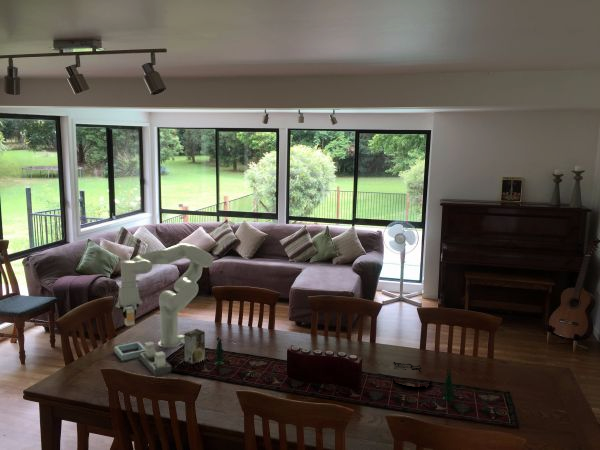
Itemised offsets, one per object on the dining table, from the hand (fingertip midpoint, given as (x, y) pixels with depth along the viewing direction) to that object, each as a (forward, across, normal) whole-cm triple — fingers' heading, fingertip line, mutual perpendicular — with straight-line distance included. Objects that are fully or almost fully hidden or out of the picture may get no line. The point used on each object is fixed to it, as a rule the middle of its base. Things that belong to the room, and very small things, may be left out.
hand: (129, 316), depth 268 cm
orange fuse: (+4, 0, 0) cm, 4 cm away
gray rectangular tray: (+22, -6, +20) cm, 31 cm away
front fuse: (+21, -6, +28) cm, 35 cm away
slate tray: (+22, 0, 0) cm, 22 cm away
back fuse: (+21, -6, +13) cm, 25 cm away
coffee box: (+22, -26, +25) cm, 42 cm away
